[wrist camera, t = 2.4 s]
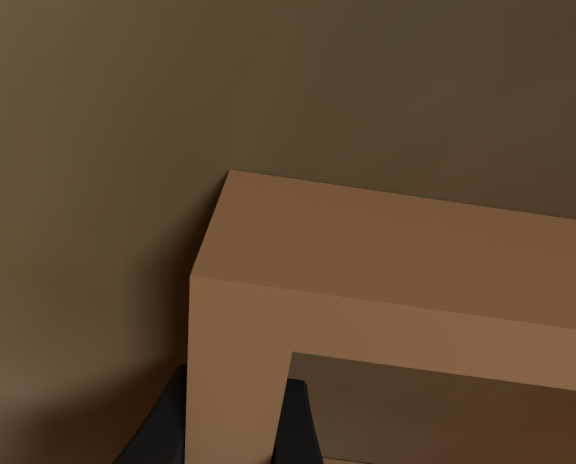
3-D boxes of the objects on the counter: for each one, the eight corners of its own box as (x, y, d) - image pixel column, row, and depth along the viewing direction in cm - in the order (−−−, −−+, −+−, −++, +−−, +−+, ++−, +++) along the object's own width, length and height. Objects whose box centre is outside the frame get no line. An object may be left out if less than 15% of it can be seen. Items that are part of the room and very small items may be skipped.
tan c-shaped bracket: (616, 225, 10) (747, 353, 7) (454, 497, 15) (487, 632, 12) (229, 169, 10) (189, 275, 7) (208, 465, 15) (181, 595, 12)
